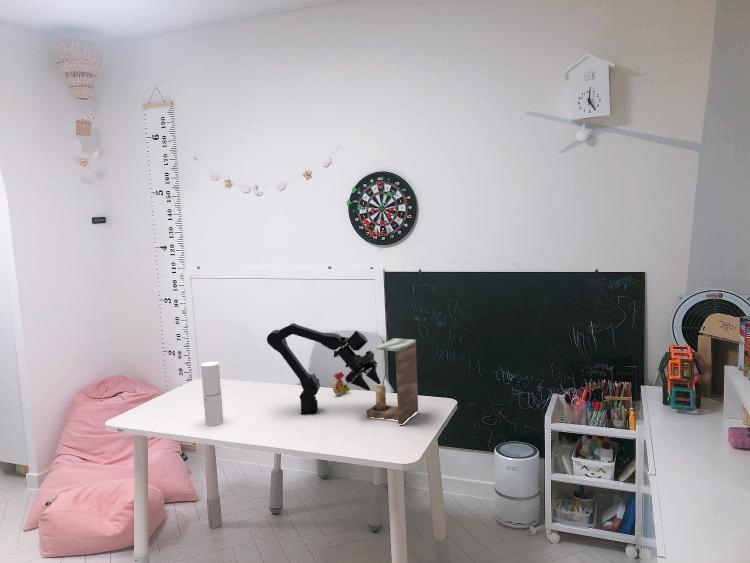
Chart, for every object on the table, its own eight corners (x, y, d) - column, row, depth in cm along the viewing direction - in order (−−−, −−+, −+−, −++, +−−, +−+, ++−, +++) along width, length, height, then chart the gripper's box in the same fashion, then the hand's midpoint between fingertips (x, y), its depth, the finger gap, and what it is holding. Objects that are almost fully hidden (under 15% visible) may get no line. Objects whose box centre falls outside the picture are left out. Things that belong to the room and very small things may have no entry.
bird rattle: (344, 401, 276) (352, 388, 283) (338, 382, 271) (346, 369, 277) (332, 399, 279) (341, 387, 285) (326, 381, 273) (335, 368, 280)
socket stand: (362, 420, 244) (359, 345, 240) (380, 408, 258) (377, 337, 254) (401, 426, 236) (398, 348, 232) (418, 413, 250) (415, 339, 246)
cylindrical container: (218, 426, 245) (213, 366, 242) (202, 425, 246) (197, 366, 243) (226, 420, 252) (221, 361, 249) (210, 419, 253) (205, 361, 250)
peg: (376, 417, 247) (375, 389, 245) (376, 414, 251) (375, 386, 249) (386, 417, 247) (385, 388, 245) (386, 413, 251) (385, 385, 249)
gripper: (350, 351, 241) (376, 380, 237) (372, 341, 257) (396, 368, 253) (334, 368, 245) (359, 398, 242) (357, 357, 262) (380, 385, 258)
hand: (374, 386), depth 248 cm, fingers open, 9 cm apart
